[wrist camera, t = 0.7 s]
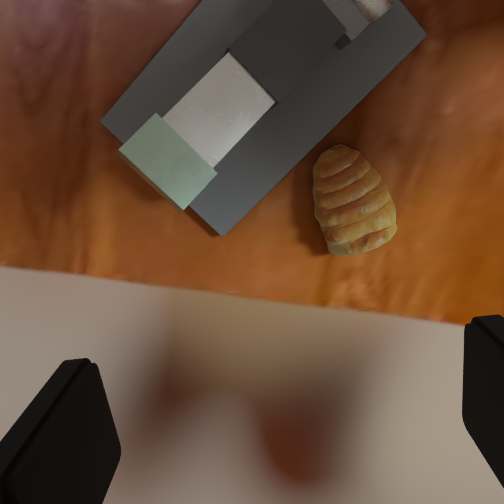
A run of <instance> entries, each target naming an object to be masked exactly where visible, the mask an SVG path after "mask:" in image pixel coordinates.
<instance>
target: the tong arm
mask: <svg viewBox="0 0 504 504" xmlns="http://www.w3.org/2000/svg"><path fill="white" fill-rule="evenodd" d="M346 31H347V29H346V28H345V27H344V25H343V24H342V23H341V22H340V21H339V20H338V18H337V17H336V16H335V15H334V14H333V12H332V11H331V10H330V9H329V8H328V7H327V5H326V4H325V3H324V2H323V1H322V0H275V1H274V2H273V3H272V4H271V5H270V6H269V7H268V8H267V9H266V10H265V11H264V12H263V13H262V14H261V15H260V16H259V17H258V18H257V19H256V20H255V21H254V22H253V23H252V24H251V25H250V26H249V27H248V28H247V29H246V30H245V31H244V32H243V33H242V34H241V35H240V36H239V37H238V38H237V39H236V40H235V41H233V42H232V43H231V44H230V45H229V46H228V48H227V50H226V52H225V53H224V55H223V57H222V59H221V60H220V61H219V62H218V63H217V64H216V65H215V66H214V67H213V68H212V69H211V70H210V71H209V72H208V73H207V74H206V75H205V76H204V77H203V78H202V79H201V80H200V81H199V82H198V83H197V84H196V85H195V86H194V87H193V88H192V89H191V90H190V91H189V92H188V93H187V94H186V95H185V96H184V97H183V98H182V99H181V100H180V101H179V102H178V103H177V104H176V105H175V106H174V107H173V108H172V109H171V110H170V111H169V112H168V113H167V114H166V115H165V116H164V117H163V118H161V117H160V116H159V115H158V114H157V113H155V114H154V115H153V116H152V117H151V118H150V119H149V120H148V121H147V122H146V123H145V124H144V125H143V126H142V127H141V128H140V129H139V130H138V131H137V132H136V133H135V134H134V135H133V136H132V137H131V138H130V139H129V140H128V141H127V142H126V143H125V144H124V145H123V146H122V147H120V148H119V149H118V152H119V157H120V158H121V159H123V160H124V161H125V162H126V163H127V164H128V165H129V166H130V167H131V168H132V169H133V170H134V171H135V172H137V173H138V174H139V175H140V176H141V177H142V178H143V179H144V180H145V181H146V182H147V183H148V184H149V185H151V186H152V187H153V188H154V189H155V190H156V191H157V192H158V193H159V194H160V195H161V196H162V197H163V198H165V199H166V200H167V201H168V202H169V203H170V204H171V205H172V206H173V207H174V208H175V209H176V210H177V211H179V212H181V211H183V210H184V209H185V208H186V207H187V206H188V205H189V204H190V203H191V201H192V200H193V199H194V198H195V197H196V196H197V195H198V194H199V193H200V192H201V191H202V190H203V189H204V188H205V187H206V185H207V184H208V183H209V182H210V181H211V180H212V179H213V178H214V177H215V176H216V175H217V174H218V173H217V172H216V171H215V170H214V169H213V168H214V167H215V165H216V164H217V163H218V162H219V161H220V160H221V159H222V158H223V157H224V156H225V155H226V154H227V153H228V152H229V151H230V150H231V148H232V147H233V146H234V145H235V144H236V143H237V142H238V141H239V140H240V139H241V138H242V137H243V136H244V135H245V134H246V132H247V131H248V130H249V129H250V128H251V127H252V126H253V125H254V124H255V123H256V122H257V121H258V120H259V119H260V118H261V117H262V115H263V114H264V113H265V112H266V111H267V110H268V109H269V108H270V109H271V110H272V109H273V108H274V107H275V106H276V105H277V104H278V103H279V102H280V101H281V100H282V99H283V98H284V97H285V96H286V95H287V94H288V93H289V92H290V91H291V90H292V88H293V87H294V86H295V85H296V84H297V83H298V82H299V81H300V80H301V79H302V78H303V77H304V76H305V75H306V73H307V72H308V71H309V70H310V69H311V68H312V67H313V66H314V65H315V64H316V63H317V62H318V61H319V60H320V59H321V57H322V56H323V55H324V54H325V53H326V52H327V51H328V50H329V49H330V48H331V47H332V46H333V45H334V44H335V43H336V41H337V40H338V39H339V38H340V37H341V36H342V35H343V34H344V33H345V32H346Z"/></svg>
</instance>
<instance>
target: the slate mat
mask: <svg viewBox="0 0 504 504" xmlns="http://www.w3.org/2000/svg"><path fill="white" fill-rule="evenodd" d="M274 1H275V0H202V1H201V2H200V4H199V5H198V6H197V7H196V8H195V9H194V11H193V12H192V13H191V14H190V15H189V17H188V18H187V19H186V20H185V21H184V22H183V24H182V25H181V26H180V27H179V28H178V30H177V31H176V32H175V33H174V34H173V35H172V37H171V38H170V39H169V40H168V41H167V43H166V44H165V45H164V46H163V47H162V49H161V50H160V51H159V52H158V53H157V54H156V56H155V57H154V58H153V59H152V60H151V62H150V63H149V64H148V65H147V66H146V67H145V69H144V70H143V71H142V72H141V73H140V75H139V76H138V77H137V78H136V79H135V80H134V82H133V83H132V84H131V85H130V86H129V88H128V89H127V90H126V91H125V92H124V93H123V95H122V96H121V97H120V98H119V99H118V101H117V102H116V103H115V104H114V105H113V107H112V108H111V109H110V110H109V111H108V112H107V114H106V115H105V116H104V117H103V118H102V120H101V121H100V123H102V124H103V125H104V126H105V127H106V128H107V129H108V130H109V131H110V132H111V133H112V134H113V135H114V136H115V137H116V138H118V139H119V140H120V141H121V142H122V143H123V144H125V143H126V142H127V141H128V140H129V139H130V138H131V137H132V136H133V135H134V134H135V133H136V132H137V131H138V130H139V129H140V128H141V127H142V126H143V125H144V124H145V123H146V122H147V121H148V120H149V119H150V118H151V117H152V116H153V115H154V114H155V113H157V114H158V115H159V116H160V117H161V118H163V117H164V116H165V115H166V114H167V113H168V112H169V111H170V110H171V109H172V108H173V107H174V106H175V105H176V104H177V103H178V102H179V101H180V100H181V99H182V98H183V97H184V96H185V95H186V94H187V93H188V92H189V91H190V90H191V89H192V88H193V87H194V86H195V85H196V84H197V83H198V82H199V81H200V80H201V79H202V78H203V77H204V76H205V75H206V74H207V73H208V72H209V71H210V70H211V69H212V68H213V67H214V66H215V65H216V64H217V63H218V62H219V61H220V60H221V59H222V57H223V55H224V53H225V52H226V50H227V48H228V46H229V45H230V44H231V43H232V42H233V41H235V40H236V39H237V38H238V37H239V36H240V35H241V34H242V33H243V32H244V31H245V30H246V29H247V28H248V27H249V26H250V25H251V24H252V23H253V22H254V21H255V20H256V19H257V18H258V17H259V16H260V15H261V14H262V13H263V12H264V11H265V10H266V9H267V8H268V7H269V6H270V5H271V4H272V3H273V2H274ZM392 2H393V3H394V4H393V5H392V6H391V7H390V8H389V9H388V10H387V11H386V12H385V13H384V14H383V15H382V16H381V17H380V18H379V19H378V20H377V21H376V22H375V23H374V24H373V25H371V24H369V25H368V26H367V27H366V28H365V29H364V30H363V31H362V32H361V33H360V34H359V35H358V36H357V37H356V38H355V39H354V40H353V41H352V42H351V43H349V44H348V45H346V46H345V47H344V48H342V49H341V50H339V49H338V48H337V46H336V45H335V44H334V45H333V46H332V47H331V48H330V49H329V50H328V51H327V52H326V53H325V54H324V55H323V56H322V57H321V59H320V60H319V61H318V62H317V63H316V64H315V65H314V66H313V67H312V68H311V69H310V70H309V71H308V72H307V73H306V75H305V76H304V77H303V78H302V79H301V80H300V81H299V82H298V83H297V84H296V85H295V86H294V87H293V88H292V90H291V91H290V92H289V93H288V94H287V95H286V96H285V97H284V98H283V99H282V100H281V101H280V102H279V103H278V104H277V105H276V106H275V107H274V108H273V109H272V110H271V109H270V110H269V111H268V112H267V113H266V114H263V115H262V117H261V118H260V119H259V120H258V121H257V122H256V123H255V124H254V125H253V126H252V127H251V128H250V129H249V130H248V131H247V132H246V134H245V135H244V136H243V137H242V138H241V139H240V140H239V141H238V142H237V143H236V144H235V145H234V146H233V147H232V148H231V150H230V151H229V152H228V153H227V154H226V155H225V156H224V157H223V158H222V159H221V160H220V161H219V162H218V163H217V164H216V165H215V168H216V169H215V171H216V172H217V173H218V174H217V175H216V176H215V177H214V178H213V179H212V180H211V181H210V182H209V183H208V184H207V185H206V187H205V188H204V189H203V190H202V191H201V192H200V193H199V194H198V195H197V196H196V197H195V198H194V199H193V200H192V201H191V203H190V204H189V206H190V207H191V208H192V209H193V210H194V211H195V212H196V213H197V214H198V215H200V216H201V217H202V218H203V219H204V220H205V221H206V222H207V223H208V224H209V225H210V226H211V227H212V228H213V229H214V230H216V231H217V232H218V233H219V234H220V235H221V236H222V237H223V236H224V235H225V234H226V233H227V232H228V231H229V230H230V229H231V228H232V227H233V226H234V225H235V224H236V223H237V222H238V221H239V220H240V219H241V218H242V217H243V216H244V215H245V214H246V213H247V212H248V211H250V210H251V209H252V208H253V207H254V206H255V205H256V204H257V203H258V202H259V201H260V200H261V199H262V198H263V197H264V196H265V195H266V194H267V193H268V192H269V191H270V190H271V189H272V188H273V187H274V186H275V185H276V184H277V183H278V182H279V181H280V180H281V179H282V178H283V177H284V176H285V175H286V174H287V173H288V172H289V171H290V170H291V169H292V168H293V167H294V166H295V165H296V164H297V163H298V162H299V161H300V160H301V159H302V158H303V157H304V156H305V155H306V154H307V153H308V152H309V151H310V150H311V149H312V148H313V147H314V146H315V145H316V144H317V143H318V142H319V141H321V140H322V139H323V138H324V137H325V136H326V135H327V134H328V133H329V132H330V131H331V130H332V129H333V128H334V127H335V126H336V125H337V124H338V123H339V122H340V121H341V120H342V119H343V118H344V117H345V116H346V115H347V114H348V113H349V112H350V111H351V110H352V109H353V108H354V107H355V106H356V105H357V104H358V103H359V102H360V101H361V100H362V99H363V98H364V97H365V96H366V95H367V94H368V93H369V92H370V91H371V90H372V89H373V88H374V87H375V86H376V85H377V84H378V83H379V82H380V81H381V80H382V79H383V78H384V77H385V76H386V75H387V74H388V73H389V72H391V71H392V70H393V69H394V68H395V67H396V66H397V65H398V64H399V63H400V62H401V61H402V60H403V59H404V58H405V57H406V56H407V55H408V54H409V53H410V52H411V51H412V50H413V49H414V48H415V47H416V46H417V45H418V44H419V43H420V42H421V41H422V40H423V39H424V38H425V37H426V36H427V34H426V32H425V31H424V30H423V29H422V27H421V26H420V25H419V24H418V22H417V21H416V20H415V19H414V17H413V16H412V15H411V14H410V12H409V11H408V10H407V9H406V7H405V6H404V5H403V4H402V2H401V1H400V0H392Z"/></svg>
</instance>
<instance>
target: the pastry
mask: <svg viewBox="0 0 504 504" xmlns="http://www.w3.org/2000/svg"><path fill="white" fill-rule="evenodd" d="M313 180H314V183H313V189H312V191H313V198H314V204H315V208H314V215H315V218H316V219H317V220H318V221H319V223H320V227H321V229H322V231H323V234H324V238H325V241H326V242H327V246H328V251H329V252H330V253H332V254H334V255H341V256H343V255H347V254H348V255H356V254H359V253H363V252H367V251H370V250H373V249H376V248H378V247H379V246H380V245H382V244H383V243H386V242H388V241H389V240H390V239H391V238H392V237H393V235H394V234H395V232H396V231H397V225H396V220H395V218H396V211H395V204H394V202H393V200H392V198H391V196H390V193H389V190H388V187H387V184H386V183H385V182H384V181H383V179H382V177H381V176H380V175H379V174H378V173H377V172H376V171H375V169H374V168H373V166H371V165H370V164H369V162H368V161H367V160H366V159H365V158H364V157H363V156H362V154H361V152H360V151H358V150H355V149H352V148H349V147H347V146H346V145H342V144H339V145H336V146H333V147H331V148H329V149H328V150H326V151H324V152H323V153H322V154H321V155H320V156H319V158H318V160H317V162H316V163H315V165H314V167H313Z"/></svg>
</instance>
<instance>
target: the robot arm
mask: <svg viewBox="0 0 504 504" xmlns="http://www.w3.org/2000/svg"><path fill="white" fill-rule="evenodd" d="M462 417H463V421H464V425H465V427H466V429H467V431H468V433H469V434H470V436H471V437H472V439H473V440H474V442H475V444H476V445H477V447H478V448H479V450H480V451H481V453H482V455H483V456H484V458H485V459H486V461H487V463H488V464H489V466H490V467H491V469H492V471H493V472H494V474H495V475H496V477H497V478H498V480H499V482H500V483H501V485H502V486H503V488H504V318H503V317H502V316H501V315H489V316H479V317H474V318H473V319H472V321H471V323H469V324H466V325H465V329H464V365H463V400H462ZM120 456H121V446H120V442H119V438H118V435H117V431H116V428H115V424H114V421H113V417H112V414H111V410H110V407H109V403H108V400H107V396H106V393H105V389H104V387H103V383H102V379H101V376H100V372H99V369H98V366H97V364H95V363H91V361H90V360H89V359H87V358H83V359H73V360H65V361H63V362H62V363H61V365H60V366H59V367H58V369H57V370H56V371H55V372H54V374H53V375H52V376H51V377H50V379H49V380H48V381H47V382H46V384H45V385H44V387H43V388H42V389H41V390H40V391H39V393H38V394H37V395H36V397H35V398H34V399H33V401H32V402H31V403H30V404H29V405H28V407H27V408H26V409H25V411H24V412H23V413H22V415H21V416H20V417H19V418H18V420H17V421H16V422H15V423H14V425H13V426H12V427H11V429H10V430H9V431H8V432H7V434H6V435H5V436H4V437H3V439H2V440H1V441H0V504H102V503H103V500H104V498H105V496H106V493H107V491H108V488H109V485H110V483H111V481H112V478H113V476H114V473H115V470H116V468H117V466H118V463H119V460H120Z"/></svg>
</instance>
